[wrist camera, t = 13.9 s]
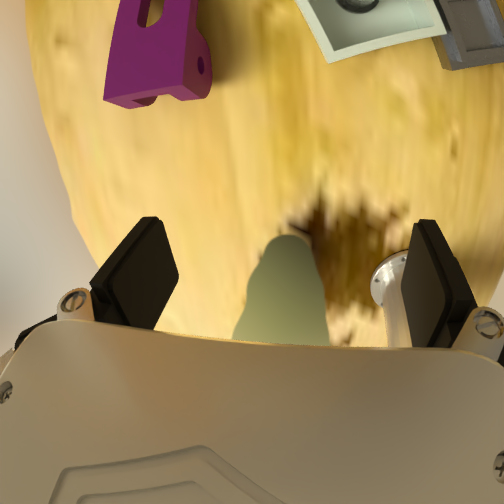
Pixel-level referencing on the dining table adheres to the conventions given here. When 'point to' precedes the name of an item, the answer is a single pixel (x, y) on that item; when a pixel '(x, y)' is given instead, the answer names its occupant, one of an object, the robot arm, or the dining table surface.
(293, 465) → the robot arm
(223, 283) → the dining table surface
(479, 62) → the socket block
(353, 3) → the grey rounded piece
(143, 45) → the mounting bracket
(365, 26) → the bin
